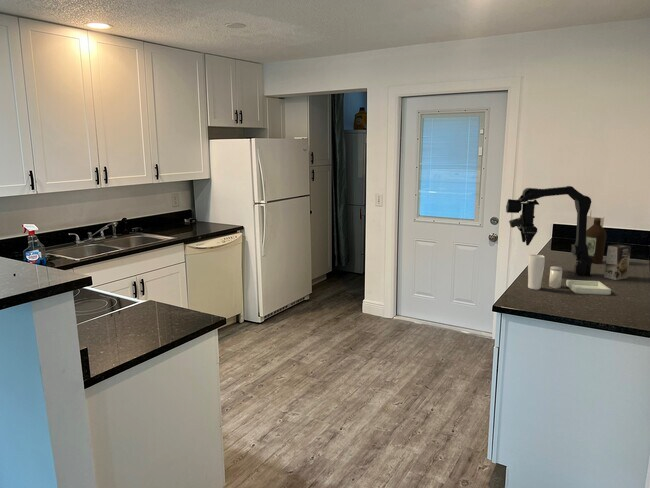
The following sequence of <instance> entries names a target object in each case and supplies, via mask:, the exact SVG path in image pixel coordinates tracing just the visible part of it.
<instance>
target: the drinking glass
mask: <svg viewBox="0 0 650 488" xmlns="http://www.w3.org/2000/svg"><path fill="white" fill-rule="evenodd" d="M545 263H546V256H544V255H543V254H529V255H528V261H527V272H528V273H527V275H528V276H527V288H528V289H530V290H535V291H536V290H541V288H542V281H543V275H544V269H545Z"/></svg>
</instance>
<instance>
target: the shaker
mask: <svg viewBox="0 0 650 488" xmlns="http://www.w3.org/2000/svg"><path fill="white" fill-rule="evenodd" d="M562 278H563V267H562V266H558V265H557V266H556V265H555V266H553V265H552V266H550V268H549V280H548V287H549V288H553V289H561V288H562V287H561V286H562Z"/></svg>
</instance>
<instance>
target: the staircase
mask: <svg viewBox="0 0 650 488" xmlns="http://www.w3.org/2000/svg"><path fill="white" fill-rule="evenodd" d="M589 213H590V214H589V215H587V229H589V228H590V227H591V226H592V225H593V224H594V218H597V217H596V216H593V217H592V211H590V212H589ZM600 218H601V223H600V225H601V226H602V228H603V229H604V222H605V217H604V216H603V217H600ZM587 229H586V231H587Z"/></svg>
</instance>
